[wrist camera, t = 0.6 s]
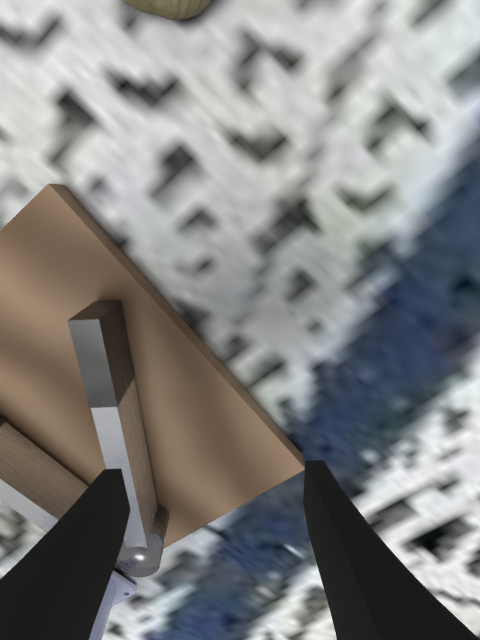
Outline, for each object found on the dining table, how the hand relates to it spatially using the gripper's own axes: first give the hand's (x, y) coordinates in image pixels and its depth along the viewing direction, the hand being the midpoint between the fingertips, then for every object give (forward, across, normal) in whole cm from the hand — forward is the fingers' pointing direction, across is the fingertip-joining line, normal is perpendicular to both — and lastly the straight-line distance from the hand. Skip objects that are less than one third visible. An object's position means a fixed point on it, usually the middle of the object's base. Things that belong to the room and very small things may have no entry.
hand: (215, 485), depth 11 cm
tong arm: (+9, +6, +5) cm, 12 cm away
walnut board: (+10, +9, +4) cm, 14 cm away
